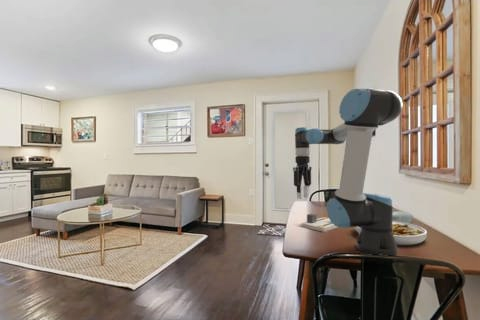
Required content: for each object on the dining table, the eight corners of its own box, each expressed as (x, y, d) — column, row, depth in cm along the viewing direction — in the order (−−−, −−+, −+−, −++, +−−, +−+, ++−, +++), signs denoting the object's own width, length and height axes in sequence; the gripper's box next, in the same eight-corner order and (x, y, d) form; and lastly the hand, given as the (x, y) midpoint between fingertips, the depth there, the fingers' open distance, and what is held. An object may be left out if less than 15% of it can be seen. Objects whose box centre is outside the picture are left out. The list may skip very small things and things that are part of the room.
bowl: (412, 230, 135) (412, 215, 135) (439, 250, 106) (439, 231, 106) (351, 227, 143) (350, 213, 143) (361, 244, 114) (360, 227, 114)
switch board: (323, 231, 133) (323, 227, 133) (301, 226, 144) (301, 222, 144) (345, 224, 147) (345, 221, 147) (324, 220, 158) (324, 216, 158)
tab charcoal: (312, 222, 143) (312, 215, 143) (307, 221, 146) (307, 214, 146) (316, 221, 146) (316, 214, 146) (311, 220, 149) (311, 213, 149)
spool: (406, 217, 149) (406, 204, 145) (417, 228, 141) (417, 215, 136) (382, 222, 151) (382, 209, 146) (391, 234, 142) (391, 221, 138)
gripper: (306, 155, 150) (307, 195, 150) (286, 155, 138) (286, 198, 138) (317, 155, 144) (318, 197, 144) (297, 155, 132) (297, 200, 132)
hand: (302, 197), depth 141 cm, fingers open, 5 cm apart
